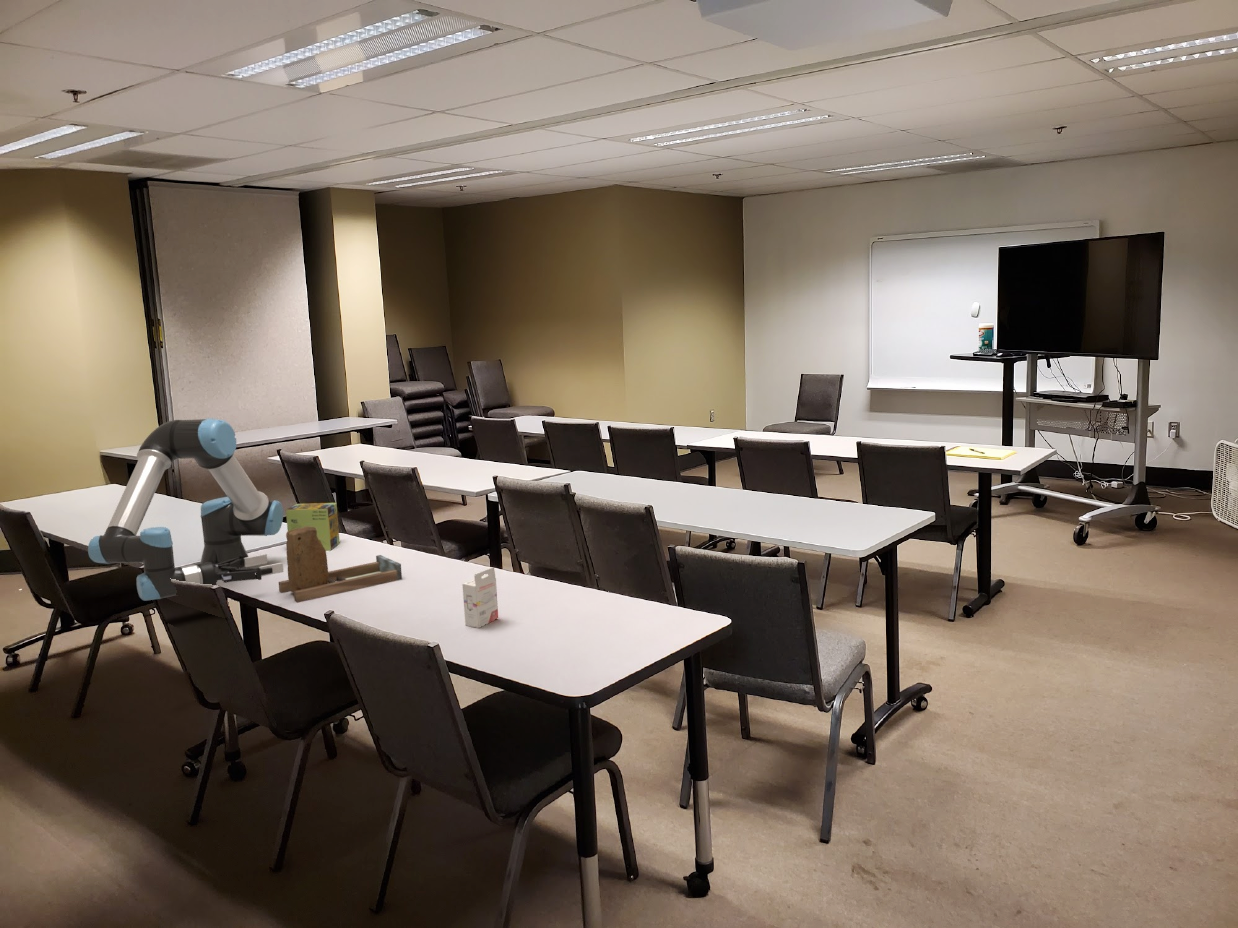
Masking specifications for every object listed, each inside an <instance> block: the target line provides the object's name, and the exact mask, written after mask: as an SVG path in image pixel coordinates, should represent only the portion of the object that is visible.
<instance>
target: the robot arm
mask: <svg viewBox="0 0 1238 928" xmlns="http://www.w3.org/2000/svg"><path fill="white" fill-rule="evenodd" d="M236 449H237V438H236V433H235V430H234V428H233V427H232V425H231V424H230V423H229V422H227V421H226V420H223V419H215V418H207V419H203V418H202V419H201V418H200V419H173V420H169V421H166V422H164V423H162V424H161V425H159V426H158V427H156V428H155V429H154V430H153V431H151V433H149V435H148V436H147V437H146V439H145V440H144V441H143V442H142V443H141V445H140V447H139V449H138V451H137V454H136V459H137V463H136V464H135V467H134V469H133V471H132V473H131V475H130V478H129V480H128V482H127V484H126V487H125V489H124V491H123V493H122V495H121V497H120V499H119V502H118V503H117V505H116V508H115V510H114V513H113V515H112V517H111V519H110V521H109V524H108V526H107V527H106V530H105V532H104V534H102V535H100V534H99V535H96V536H94V537H93V538H92V539H90V541H89V543H88V545H87V552H88V557H89V558H90V560H91V561H92V562H94V563H98V564H107V565H108V564H109V565H110V564H143V571H144V572H143V573H141V574H137V577H136V579H135V580H136V590H137V593H138V597H139V598H140V599H141V600H142V601H146V602H147V601H151V600H152V601H153V600H161V599H165V598H169V597H173V596H177V595H176V593H177V590H176V587H174V584H173V583H172V582H171V579H176V580H179V581H186V582H195V583H200V584H212V585H216V586H217V582H218V581H222V582H223V583H224V584H225V583H232V582H240V581H253V580H258V581H261V580H262V577H265V576H270V575H276V574H280V573H284V565H283V564H284V563H283V562H278V563H273V564H268V554H267V553H265V554H258V555H254V556H249V555H248V552H247V551H246V548H245V546H244V543H243V542H242V536H244V537H248V536H251V537H254V536H257V537H263V536H265V537H267V536H276V534H278V533H279V531H280V530H281V528H282V525H283V521H284V520H283V519H284V511H283V510H284V509H283V508H284V507H283V505H282V502H280V501H279V500H276V499H275V500H270V499H269V497H268V495H266V494H265V493H264V492H262V491H260V490H258V489H257V488H256V486H255V485H254V483H253V482H252V480H251V479H250V477H249V476H248V475H247V473H246V471H245V469H244V468H243V467H242V465H241V464H240V462H239V460H238V459H237V458H236V456H235V453H236ZM178 459H182V460H183V459H193V460H194V461H195V463H196V464H197V465H198V466H199V467H200V468H202V469H204V470H208V471H209V473H210V474H211V475H212V477H213V478H214V480H215V481H216V482H217V485H219V486H220V488H221V490H222V491H223V492H224V493H225V495H226V496H224V497H218V498H214V499H210V500H207V501H205V502H203V503H202V504H201V506H200V519H201V528H202V534H203V545H204V546H203V550H202V555H201V559H200V562H199V563H197V564H189V565H184V566H180V567H175V557H174V546H173V544H174V543H173V540H172V539H173V538H172V534H171V530H170V529H169V528H168V527H165V526H156V527H147V528H144V529H142V530H141V531H140V533H139V535H137V534H138V532H139V529H140V527H141V525H142V523H143V520H144V518H145V516H146V514H147V512H148V509H149V507H150V505H151V503H152V500H153V498H154V496H155V493H156V491H157V489H158V487H159V484H160V482H161V479H162V477H163V475H164V473H165V471H166V470H167V469H168V470H169V468H171V466H172V464H173V463H174V462H175V461H176V460H178ZM265 564H266V565H265ZM267 564H268V565H267ZM260 565H263V566H260ZM255 566H258V567H255ZM243 567H244V568H243ZM248 567H252V568H248ZM170 578H171V579H170Z"/></svg>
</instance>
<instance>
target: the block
mask: <svg viewBox="0 0 1238 928" xmlns="http://www.w3.org/2000/svg"><path fill="white" fill-rule="evenodd" d="M285 537H286V544H285V545H286V563H287V577H288V579H287V580H289V585H290V589H291V591H290V592H291V593H292V594H294V591H297V590H301V589H306V588H311V587H315V586H320V585H325V584H329V583H328V572H329V564H328V557H327V551H326V550H325V548H324V547H323V545H322V543H321V541H320V540H319V539H318V537H317V530H316V528H315V527H309V526H307V527H303V528H296V529H293V530H290V531H288V530H287V532H286V534H285Z"/></svg>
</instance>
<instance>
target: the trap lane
mask: <svg viewBox="0 0 1238 928" xmlns="http://www.w3.org/2000/svg"><path fill="white" fill-rule="evenodd" d="M375 560H376V561H373V562H369V563H364V564H359V565H355V566H354V565H353V566H350V567H346V568H340V569H335V570H328V584H325V585H320V586H315V587H311V588H306V589H301V590H297V591H294V593H293V598H294V602H295V603H301V602H306V601H309V600H310V601H311V600H313V599H318V598H319V599H320V598H323V597H328V596H332V595H337V594H341V593H345V592H350V591H351V592H352V591H354V590H358V589H363V588H364V589H365V588H368V587H374V586H377V585H383V584H387V583H392V582H395V581H399V580H402V579H403V577H402V576H403V575H402V563H400V562H398V561H395V560H393V559H390V558H389V557H386V556H384V555H381V554H378V555H375ZM278 591H279V592H280V593H287V592H292V591H291V589H290V585H289V579H287V580H281V581H278Z"/></svg>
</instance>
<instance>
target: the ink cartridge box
mask: <svg viewBox="0 0 1238 928" xmlns="http://www.w3.org/2000/svg"><path fill="white" fill-rule="evenodd" d="M485 575H487V576H485ZM473 577H474V578H473V579H471V580H469V581H466V582H464V583H462V596H463V610H464V623H465V625H464V626H465V627H466V626H467V627H473V628H478V629H479V628H482V627H484V626H486V625H488V624H490V623H492V622H495V621H496V620H495V619H497V618H498V619H499V610H498V609H499V606H498V589H497V588H498V587H497V578H496V571H495V567H491V568H488V569H484V570H483V571H481V572H478V573H476V574H474V576H473ZM498 619H497V620H498ZM491 621H492V622H491ZM485 624H486V625H485ZM481 626H482V627H481Z"/></svg>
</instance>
